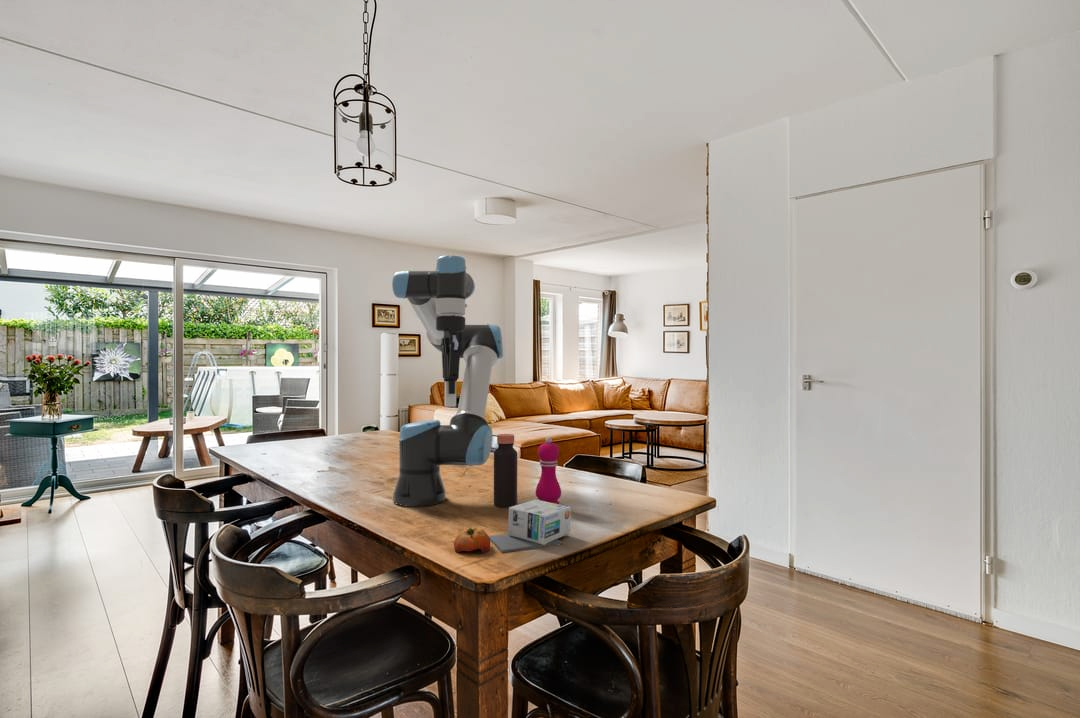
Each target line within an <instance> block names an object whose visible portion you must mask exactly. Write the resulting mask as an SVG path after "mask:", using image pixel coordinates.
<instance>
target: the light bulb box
mask: <svg viewBox="0 0 1080 718" xmlns="http://www.w3.org/2000/svg"><path fill="white" fill-rule="evenodd" d="M571 514H572V507H571V506H568V505H562V504H559V505H558V504H554V503H550V502H545V501H541V500H539V499H538V498H537V499H532V500H529V501H526V502H523V503H520V504H517V505H516V506H512V507H508V527H507V534H508V535H510V536H514V537H518V538H521V539H525V540H528V541H532V542H535V543H538V544H542V545H546V544H548V543H550V542H552V541H554V540H556V539H557V540H559V539H560V538H562V537H565V536H568V535H570V534H571V518H572V517H571Z"/></svg>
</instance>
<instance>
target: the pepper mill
mask: <svg viewBox="0 0 1080 718" xmlns="http://www.w3.org/2000/svg"><path fill="white" fill-rule="evenodd" d="M552 441H553V439H552V437H549V436H547V437H546V438H545V442H544V443H542V444H540V445H539V447H538V450H537V455H538V456H539V458H540V459H539V465H540V469H541V473H540V478H539V481H538V482H537V485H536V488H535V496H536V498H537V500H541V501H545V502H550V503H554V504H558V505H560V501H559V499H560V498H561V496H562V488H561V486H560V485H561V484H560V483H559V481H558V478H557V473H556V470H557V469H556V468H557V466H558V460H557V459H558V457H559V455H560V448H559V446H558V444H556V443H554V442H552Z"/></svg>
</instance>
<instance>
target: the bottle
mask: <svg viewBox="0 0 1080 718" xmlns="http://www.w3.org/2000/svg"><path fill="white" fill-rule="evenodd" d="M496 442H497V443H496V444H497V448H496V449H495V450H494V452H493V506H495V507H498V508H509V507H512V506H516V505H518V451H517V450H516V449H515V447H514V445H515V435H514V434H512V433H501V434H497V437H496Z"/></svg>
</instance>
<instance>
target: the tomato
mask: <svg viewBox="0 0 1080 718" xmlns="http://www.w3.org/2000/svg"><path fill="white" fill-rule="evenodd" d="M489 536H490V535H489V534H488V533H487V532H486V531H485V530H484V529H482V528H478V527H474V526H473V527H468V528H465V529H462V530H461V531H460V532H459V533H458V534H457V535H456V537H455V539H454V541H453V548H454V549H453V550H454V551H455V553H460V552H463V551H465V552H473V551H474V550H477V549H479V550H481V554H485V553H486V552H490V548H491V541H490V538H489Z"/></svg>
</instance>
